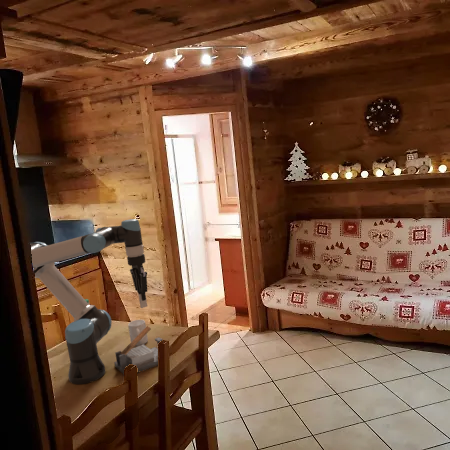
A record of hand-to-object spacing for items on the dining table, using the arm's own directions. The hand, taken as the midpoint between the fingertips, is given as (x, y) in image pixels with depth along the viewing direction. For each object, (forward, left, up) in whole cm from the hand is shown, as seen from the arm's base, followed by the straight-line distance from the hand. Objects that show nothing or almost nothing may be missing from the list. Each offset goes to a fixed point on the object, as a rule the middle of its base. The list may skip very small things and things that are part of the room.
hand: (143, 306), depth 197 cm
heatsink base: (-5, -1, -25) cm, 25 cm away
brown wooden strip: (-7, -1, -14) cm, 16 cm away
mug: (+3, +20, -25) cm, 32 cm away
